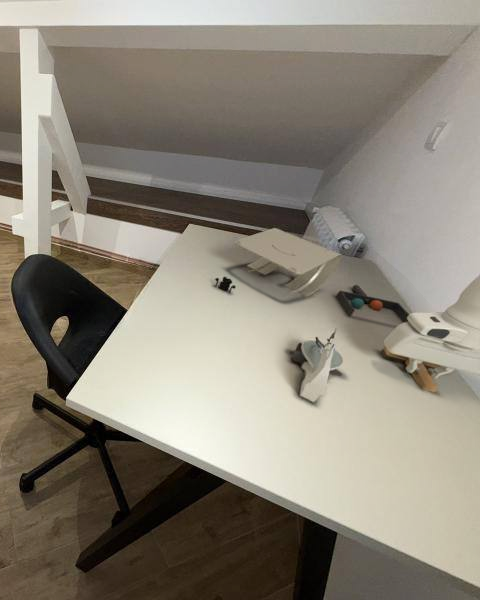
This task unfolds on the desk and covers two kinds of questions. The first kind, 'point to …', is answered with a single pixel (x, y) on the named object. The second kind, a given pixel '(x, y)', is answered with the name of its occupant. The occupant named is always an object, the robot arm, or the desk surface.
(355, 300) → the teal ball
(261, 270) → the laptop stand
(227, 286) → the wireless earbuds
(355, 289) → the dark flat angular piece
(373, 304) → the terracotta ball
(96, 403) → the desk surface
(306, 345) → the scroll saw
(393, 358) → the wooden t-shaped block
